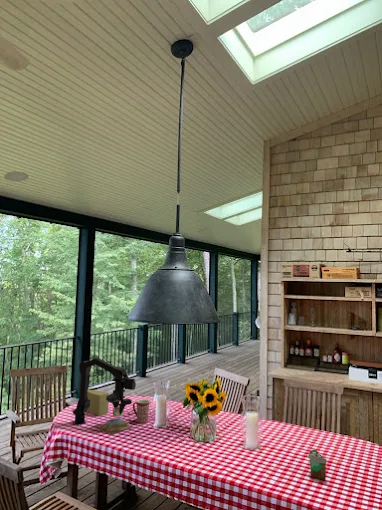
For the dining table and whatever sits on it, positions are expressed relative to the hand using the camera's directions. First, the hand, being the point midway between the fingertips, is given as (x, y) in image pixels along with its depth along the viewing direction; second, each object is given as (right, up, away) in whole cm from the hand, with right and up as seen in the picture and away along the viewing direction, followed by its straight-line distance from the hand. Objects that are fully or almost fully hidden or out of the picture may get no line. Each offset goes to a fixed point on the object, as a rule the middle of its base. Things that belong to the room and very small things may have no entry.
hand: (118, 413), depth 255 cm
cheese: (-24, -11, +30) cm, 40 cm away
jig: (-2, -9, -3) cm, 9 cm away
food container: (+107, -6, -61) cm, 123 cm away
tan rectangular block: (0, -1, 0) cm, 1 cm away
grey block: (-2, -8, -3) cm, 8 cm away
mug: (+12, -10, +13) cm, 21 cm away
